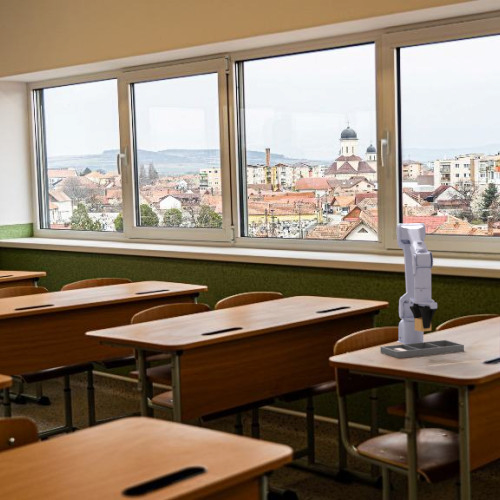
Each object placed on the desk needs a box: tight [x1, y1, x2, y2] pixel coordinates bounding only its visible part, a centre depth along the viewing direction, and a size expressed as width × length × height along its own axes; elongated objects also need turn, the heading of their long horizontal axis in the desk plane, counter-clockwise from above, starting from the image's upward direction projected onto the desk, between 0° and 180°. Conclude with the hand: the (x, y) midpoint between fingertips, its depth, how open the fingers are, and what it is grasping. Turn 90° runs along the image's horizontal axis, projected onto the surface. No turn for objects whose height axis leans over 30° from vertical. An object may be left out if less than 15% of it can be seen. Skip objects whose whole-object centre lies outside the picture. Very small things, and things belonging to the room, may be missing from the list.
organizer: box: [380, 339, 465, 359], centre depth 315 cm, size 11×26×2 cm, turn 112°
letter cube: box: [415, 318, 432, 332], centre depth 311 cm, size 4×4×4 cm
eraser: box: [394, 348, 408, 352], centre depth 312 cm, size 5×2×2 cm, turn 22°
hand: (423, 327), depth 311 cm, fingers closed on letter cube, 4 cm apart
